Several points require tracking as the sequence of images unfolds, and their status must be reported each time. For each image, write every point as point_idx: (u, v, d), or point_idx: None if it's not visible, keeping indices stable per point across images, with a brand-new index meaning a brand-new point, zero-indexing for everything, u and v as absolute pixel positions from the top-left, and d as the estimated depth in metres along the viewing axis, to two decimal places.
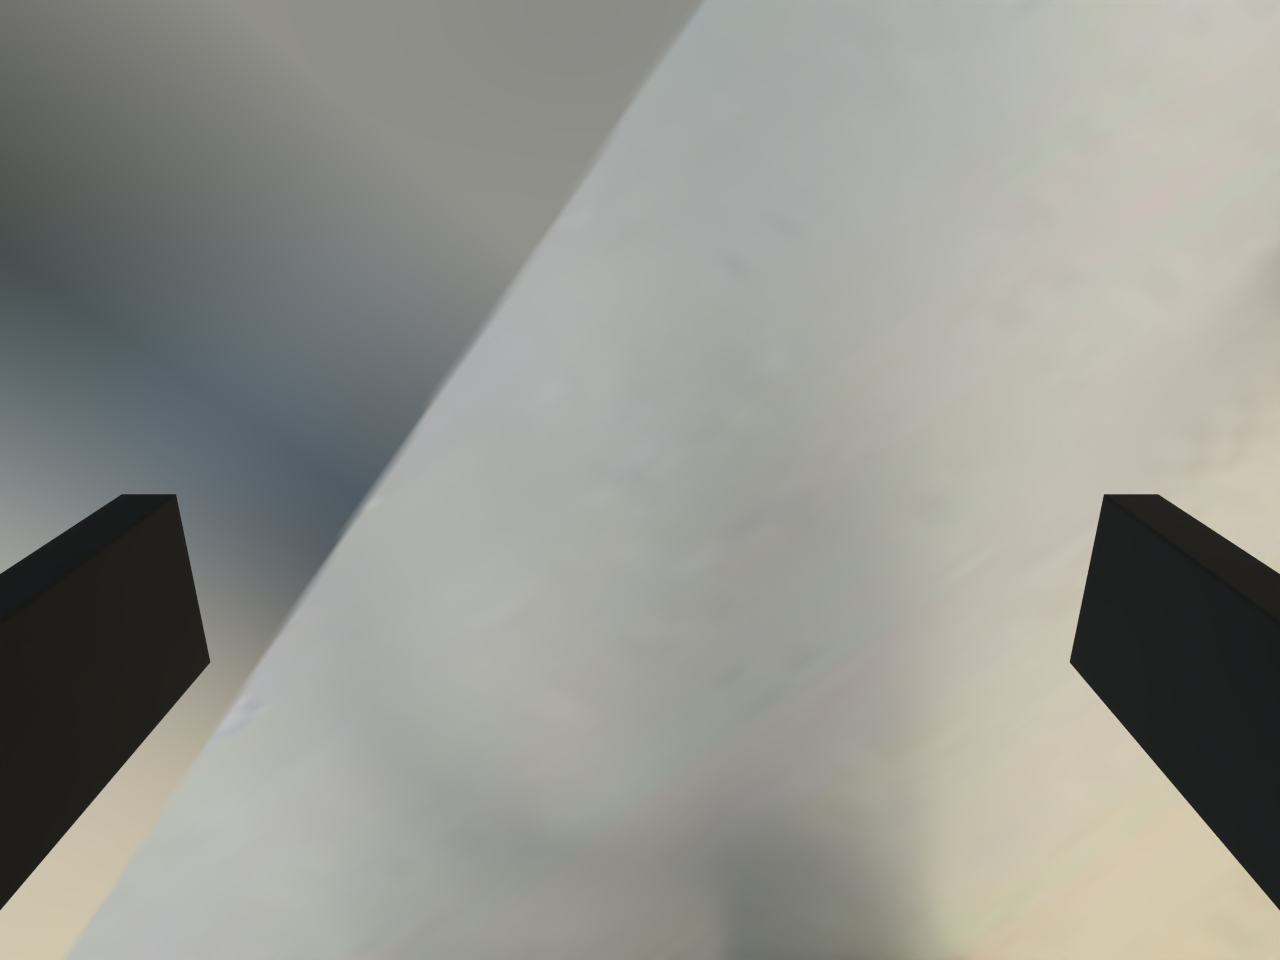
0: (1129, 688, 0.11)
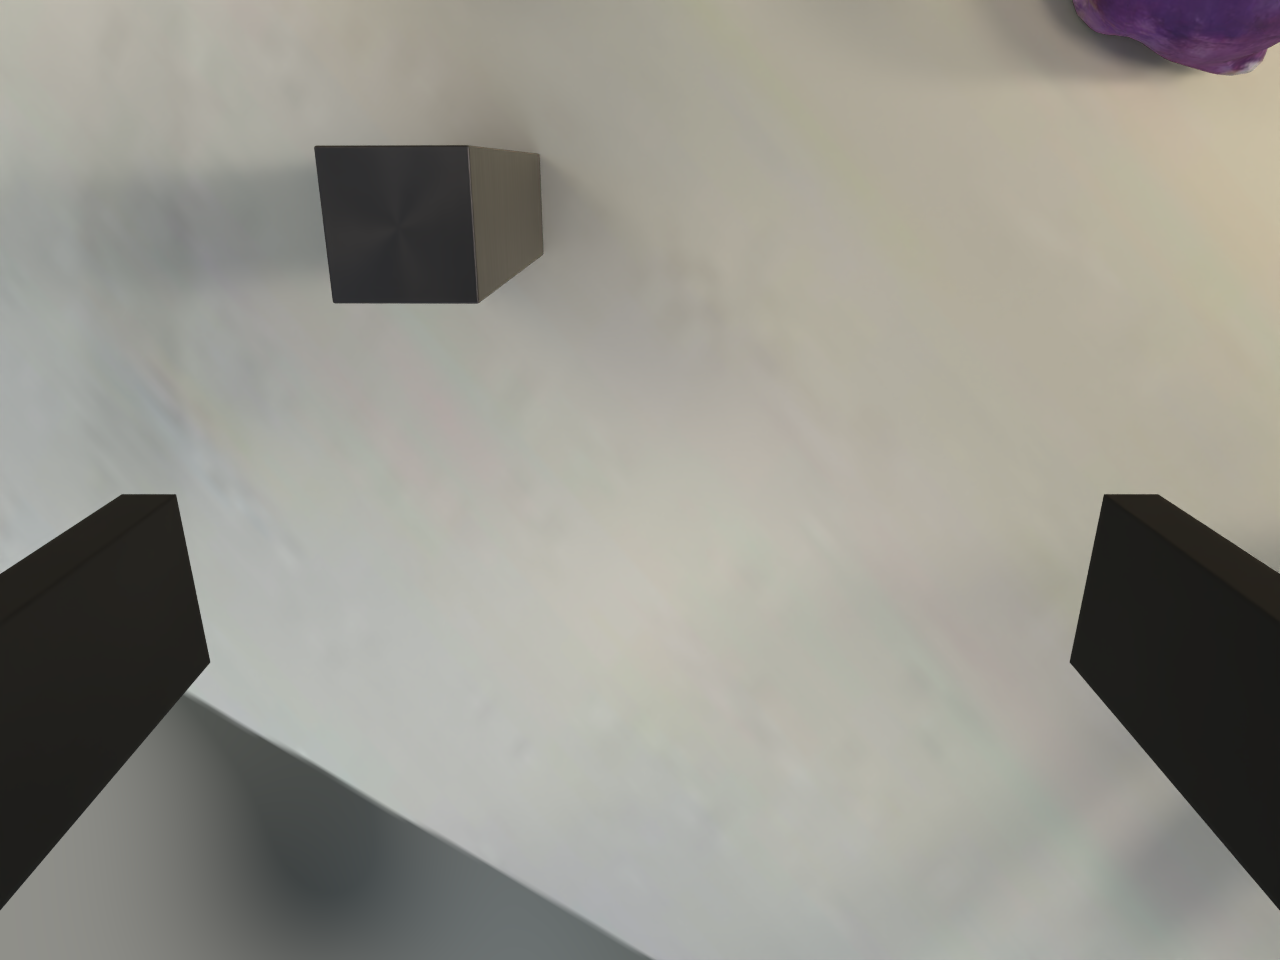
0: (1129, 688, 0.11)
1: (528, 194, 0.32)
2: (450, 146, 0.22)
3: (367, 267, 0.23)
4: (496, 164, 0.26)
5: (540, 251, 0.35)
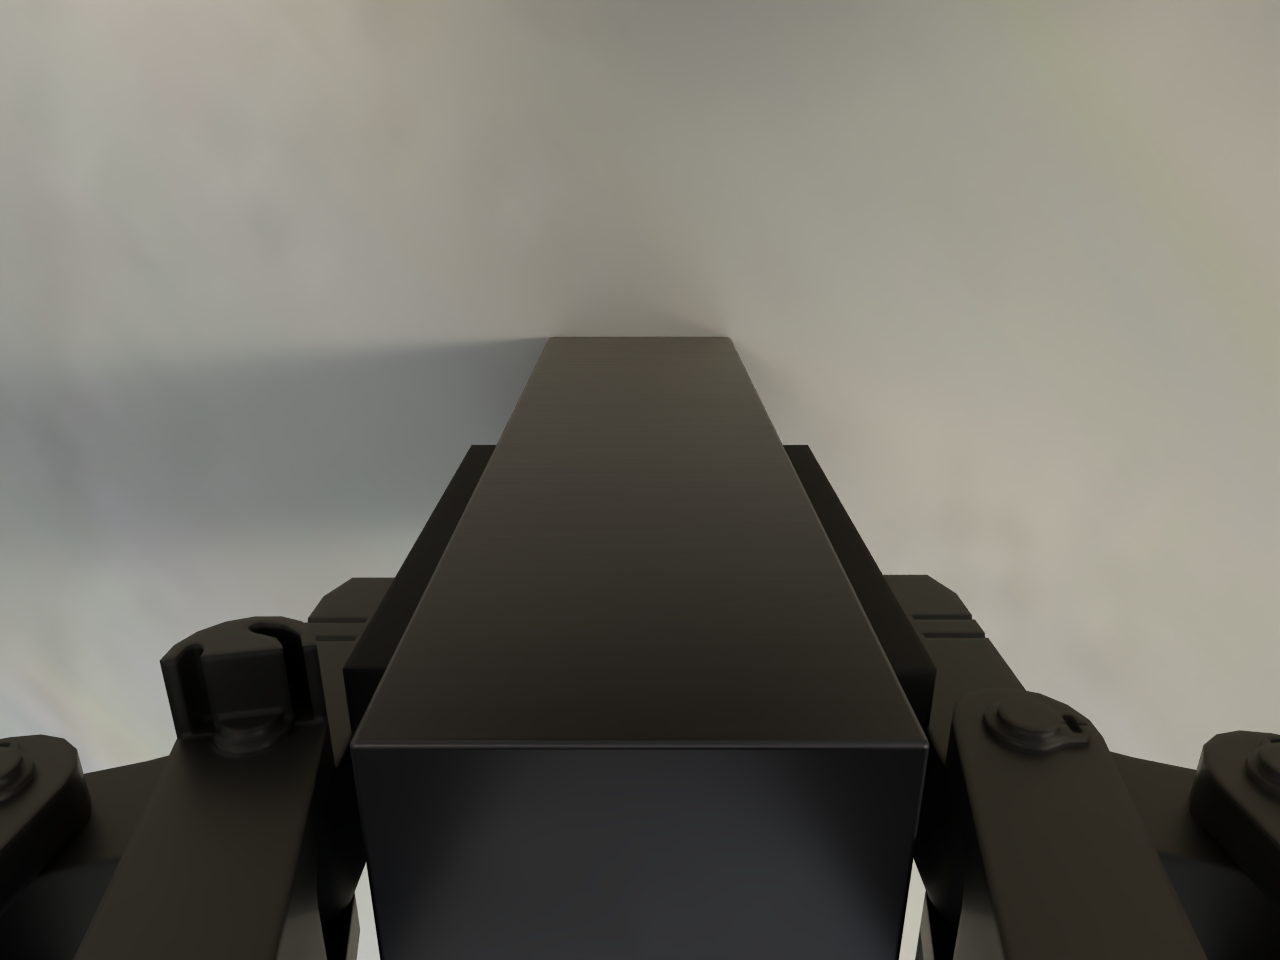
0: None
1: None
2: (861, 744, 0.06)
3: None
4: None
5: None
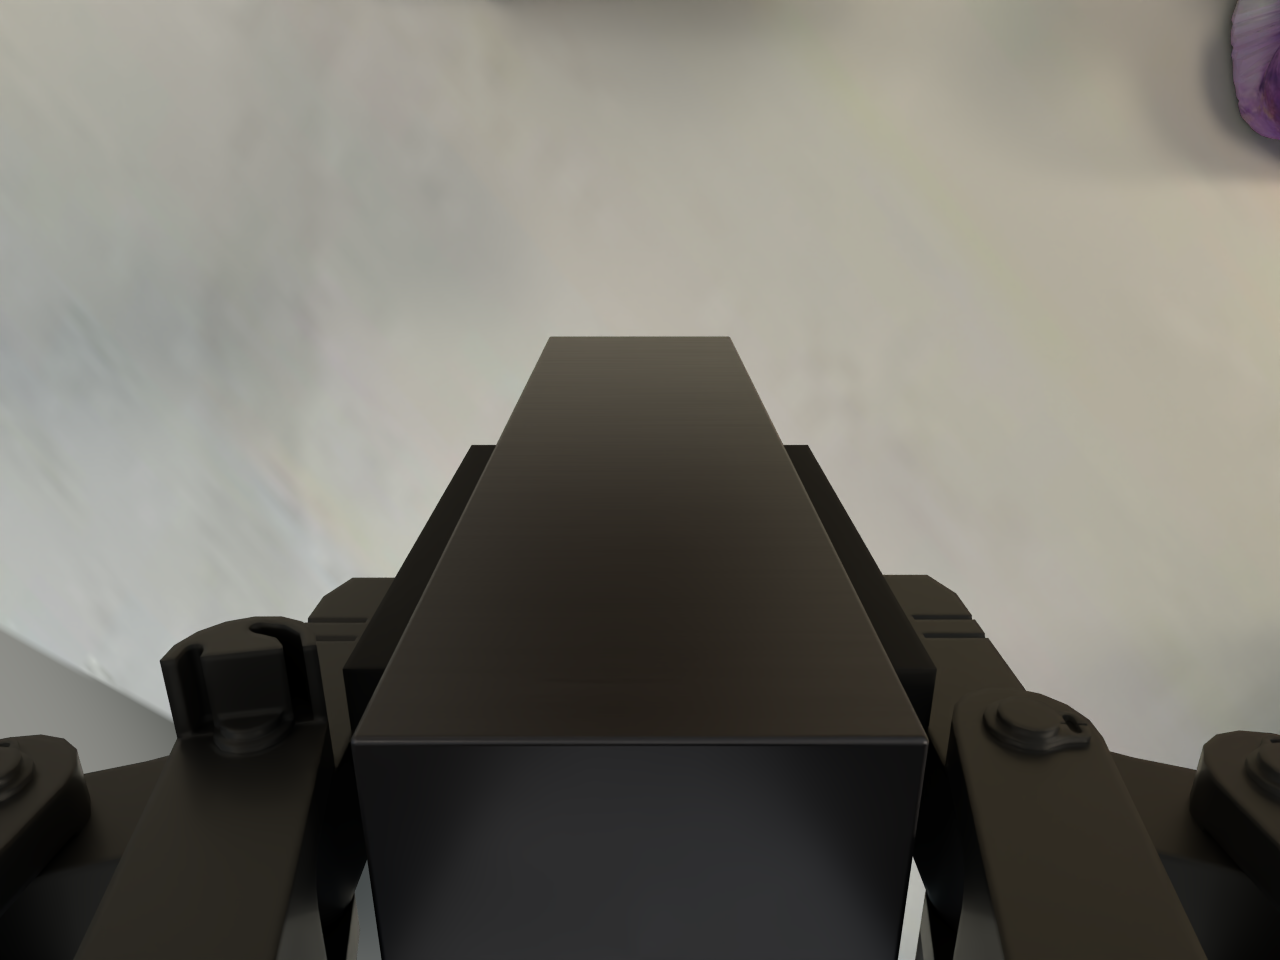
0: None
1: None
2: (861, 741, 0.06)
3: None
4: None
5: None
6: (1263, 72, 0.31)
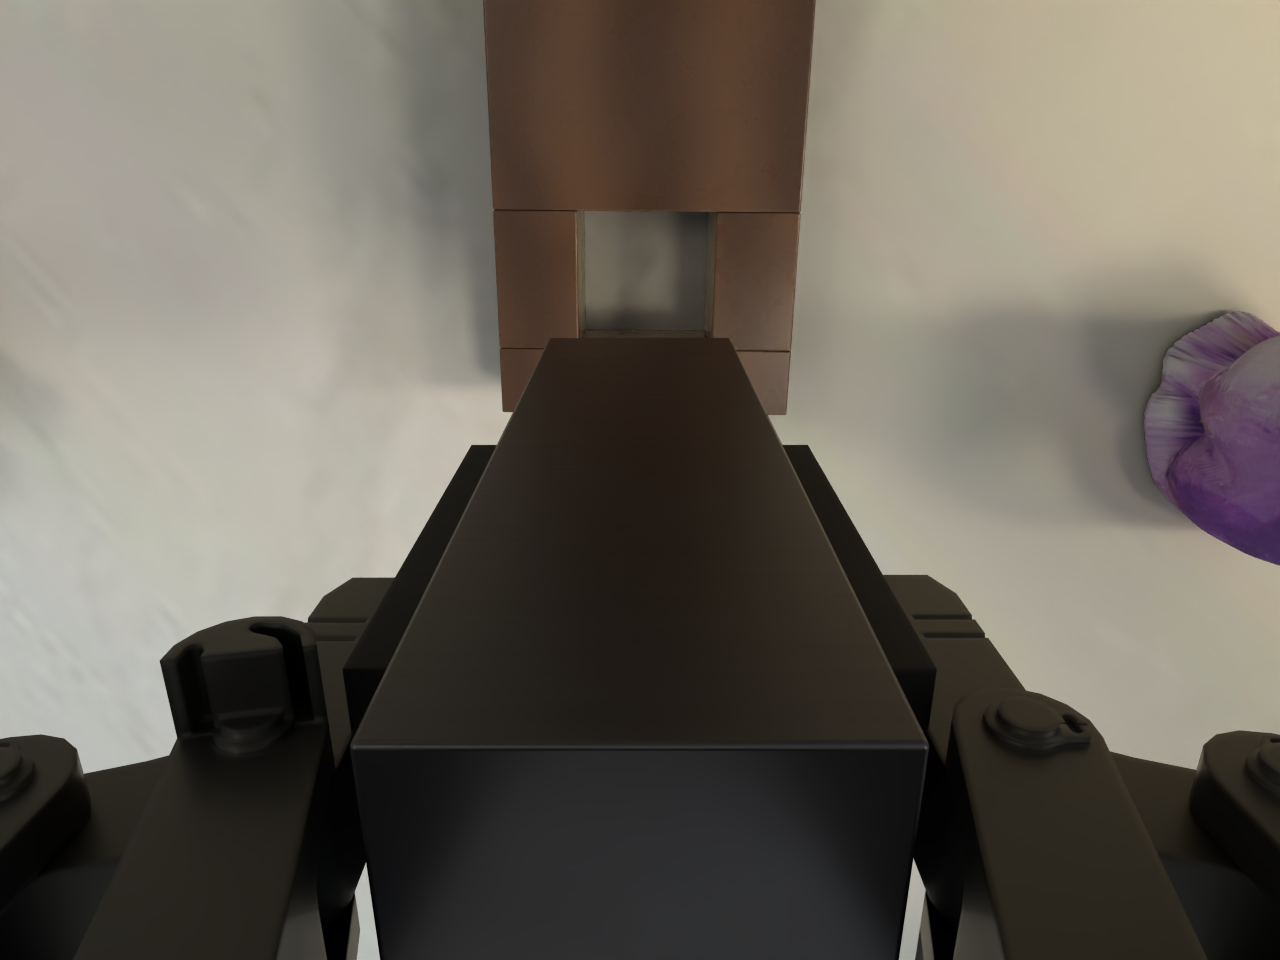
0: None
1: None
2: (861, 745, 0.06)
3: None
4: None
5: None
6: (1169, 463, 0.37)
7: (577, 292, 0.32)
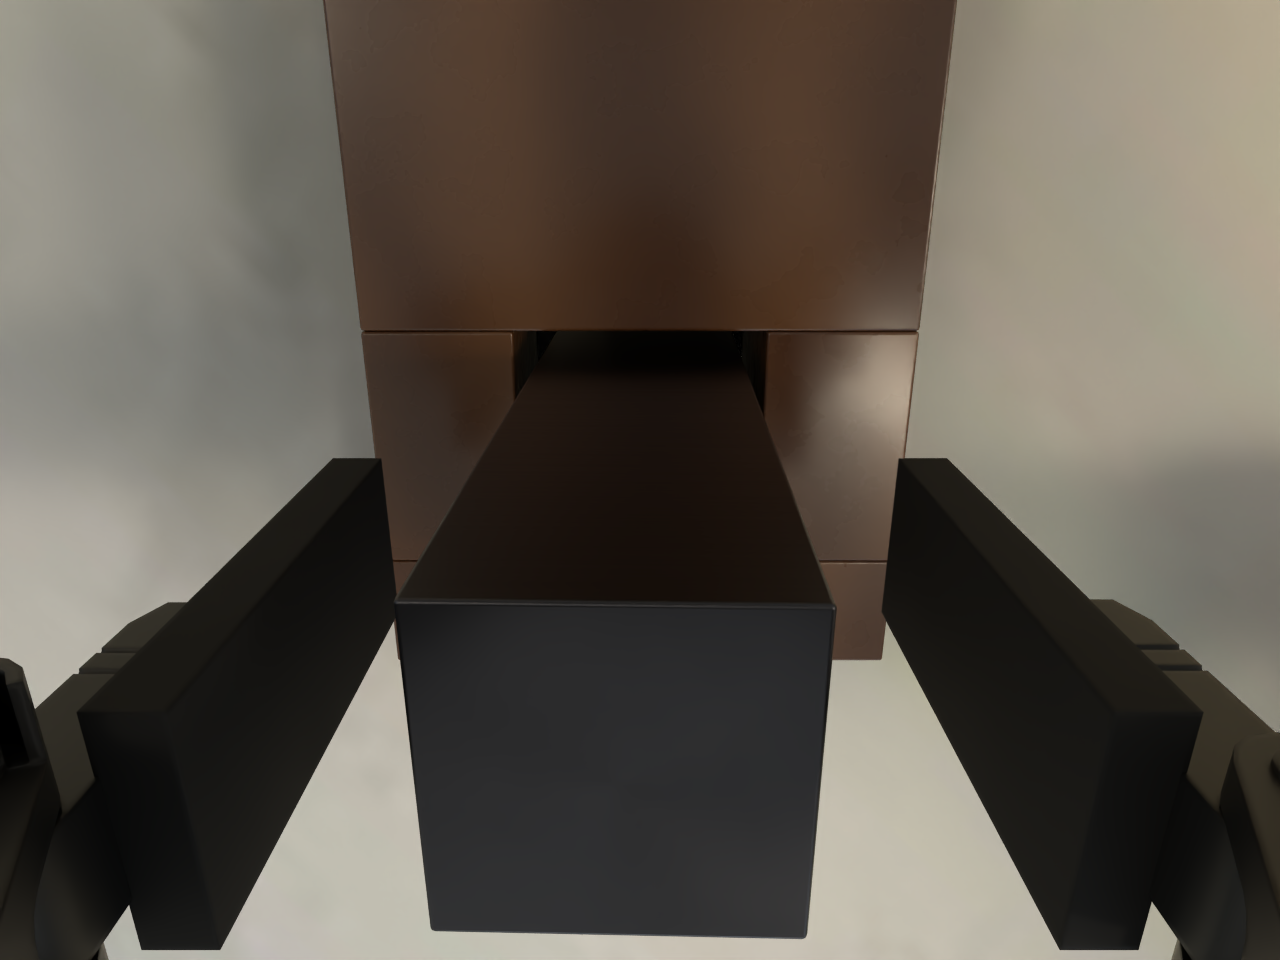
0: (911, 629, 0.13)
1: None
2: (783, 606, 0.08)
3: (524, 865, 0.09)
4: None
5: None
6: None
7: None
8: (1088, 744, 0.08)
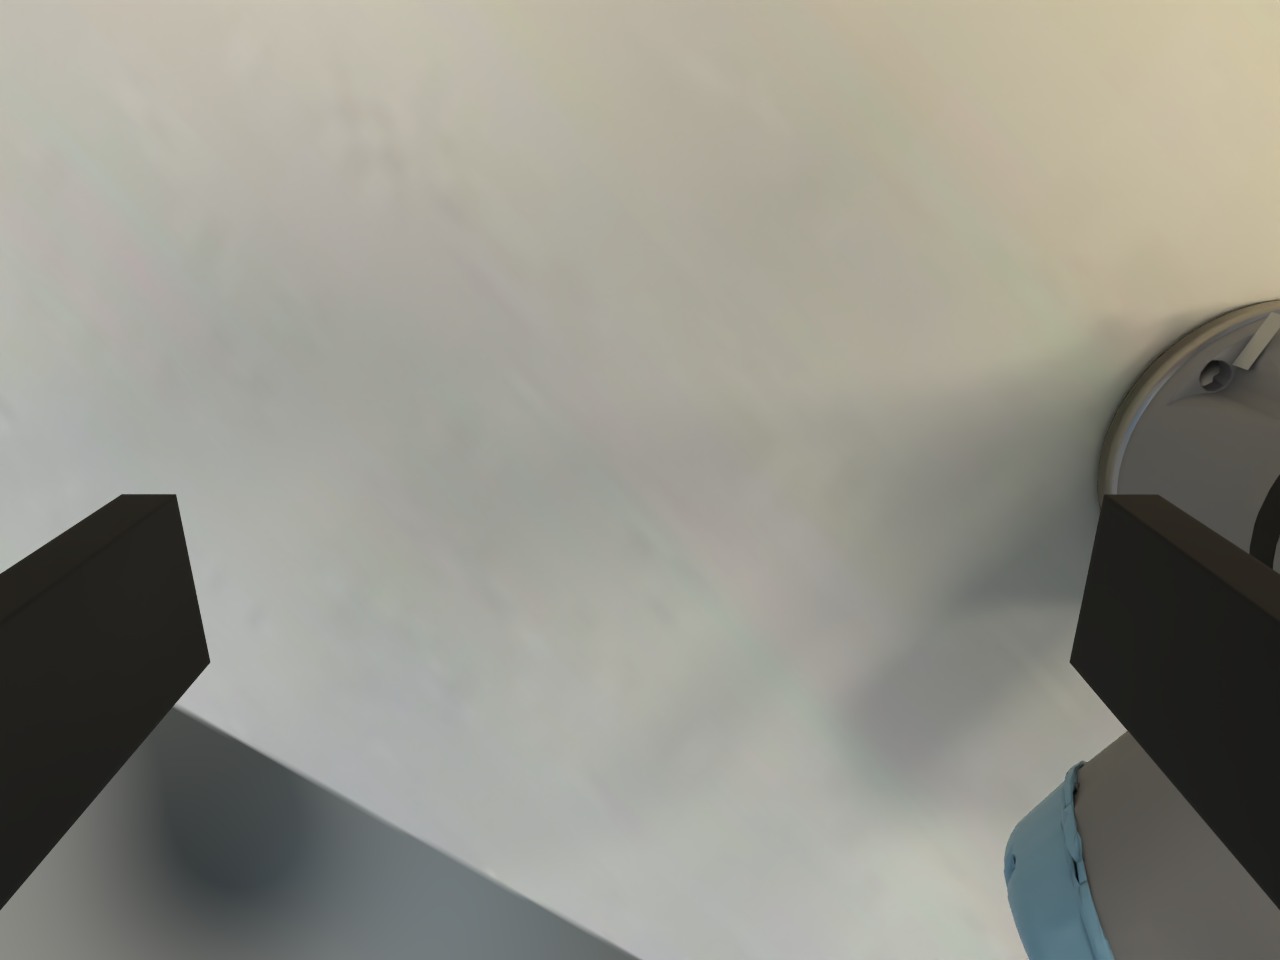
0: (1129, 688, 0.11)
1: None
2: None
3: None
4: None
5: None
6: None
7: None
8: None
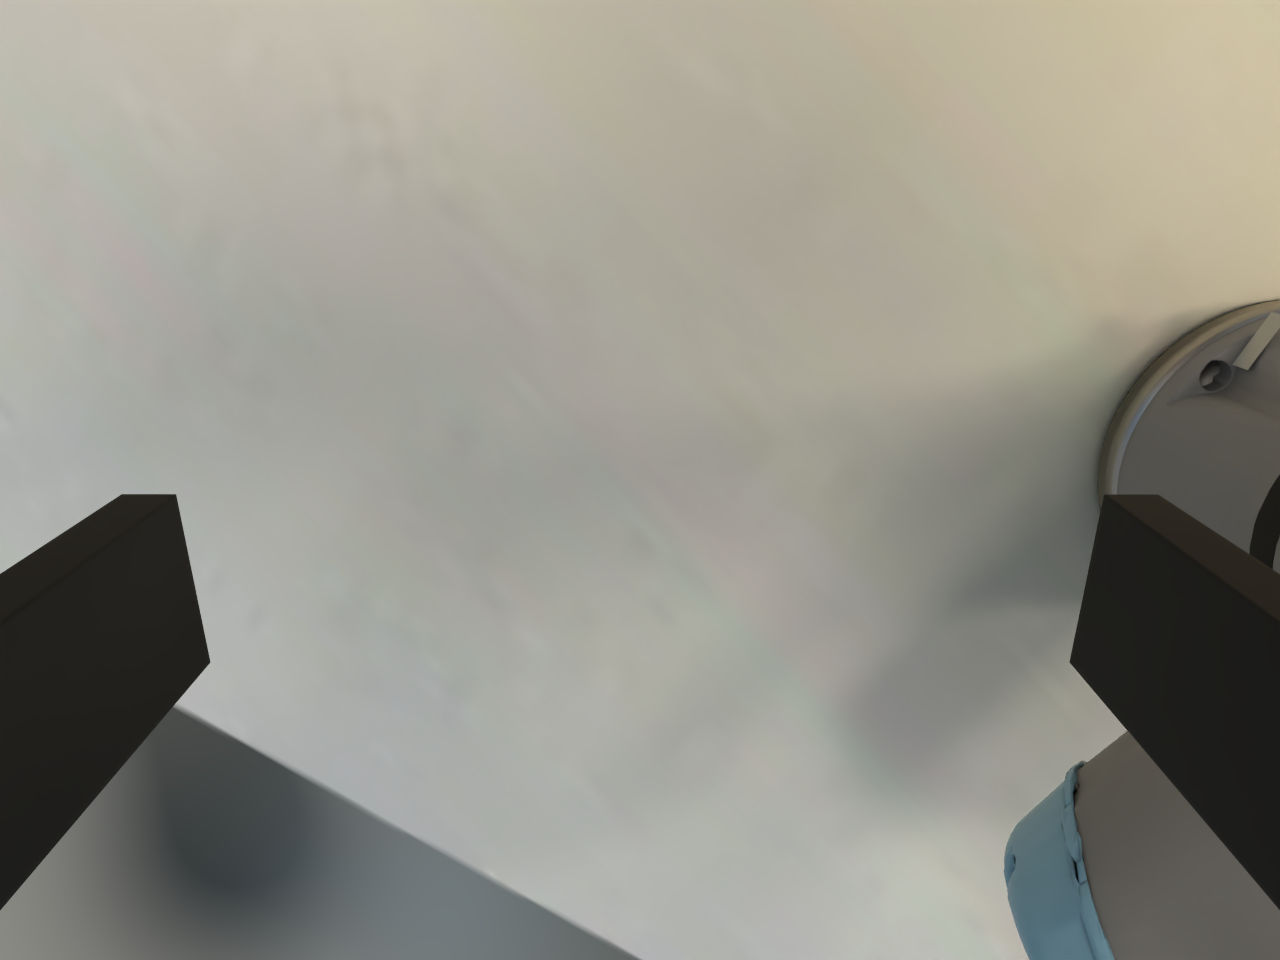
0: (1129, 688, 0.11)
1: None
2: None
3: None
4: None
5: None
6: None
7: None
8: None
